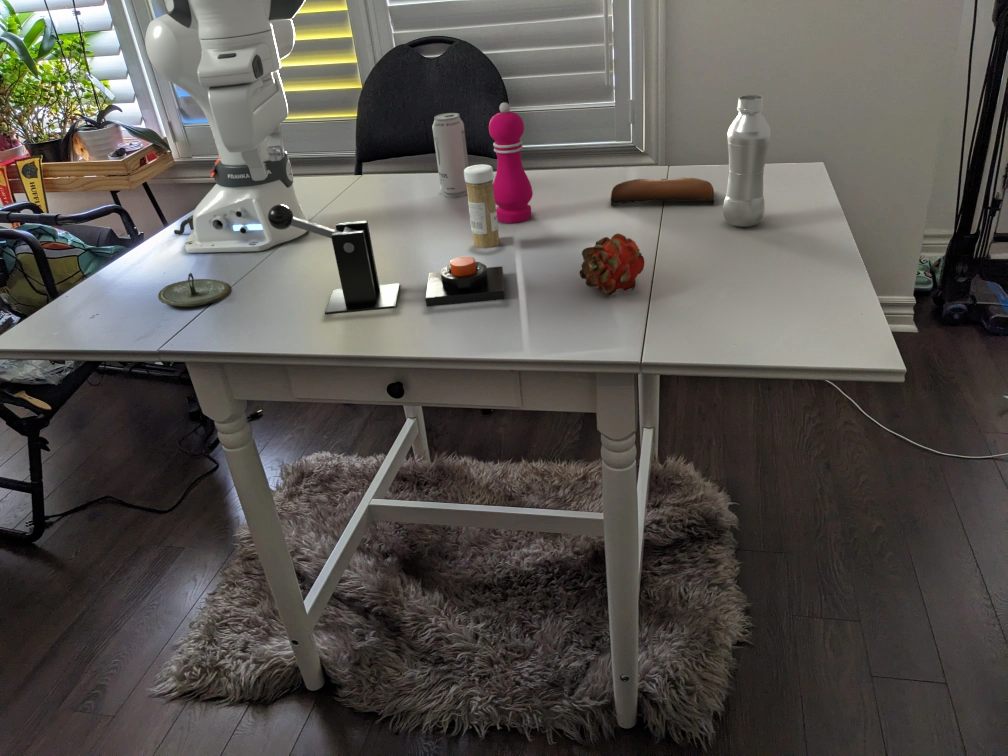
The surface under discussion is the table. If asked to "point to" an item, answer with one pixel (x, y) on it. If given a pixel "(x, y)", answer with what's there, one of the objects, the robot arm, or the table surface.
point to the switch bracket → (358, 273)
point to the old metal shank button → (193, 292)
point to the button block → (465, 286)
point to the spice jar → (482, 205)
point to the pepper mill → (510, 167)
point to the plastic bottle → (746, 163)
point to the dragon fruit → (612, 264)
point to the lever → (297, 222)
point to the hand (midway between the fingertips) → (269, 169)
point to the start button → (463, 266)
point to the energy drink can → (450, 153)
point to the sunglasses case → (662, 190)
